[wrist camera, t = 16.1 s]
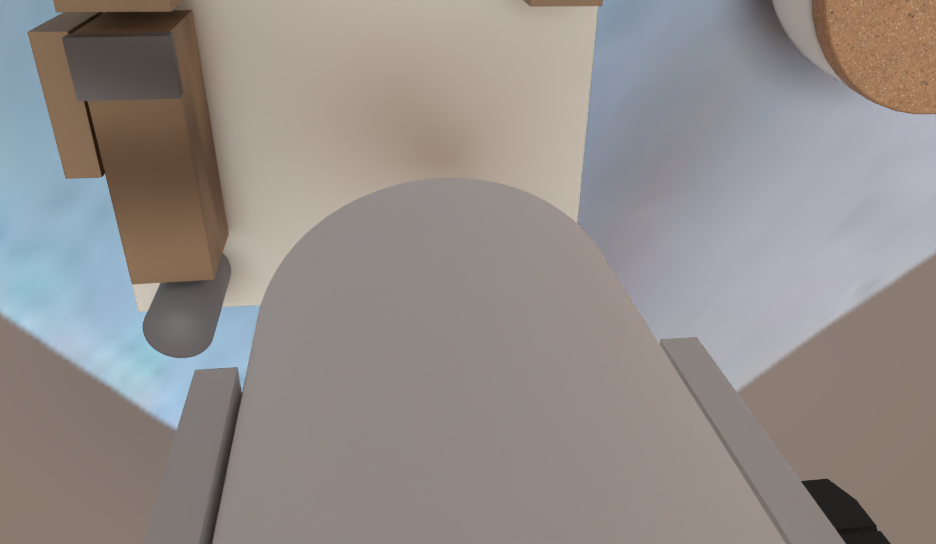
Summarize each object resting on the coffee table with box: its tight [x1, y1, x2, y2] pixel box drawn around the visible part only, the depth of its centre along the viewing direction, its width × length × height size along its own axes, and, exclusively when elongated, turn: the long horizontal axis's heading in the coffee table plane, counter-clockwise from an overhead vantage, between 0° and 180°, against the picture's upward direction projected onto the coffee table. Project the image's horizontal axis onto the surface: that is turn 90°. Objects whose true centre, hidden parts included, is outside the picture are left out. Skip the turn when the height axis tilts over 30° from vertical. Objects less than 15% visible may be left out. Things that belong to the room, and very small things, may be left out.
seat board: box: [28, 0, 603, 358], centre depth 29 cm, size 17×20×6 cm
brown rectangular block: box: [62, 10, 229, 284], centre depth 28 cm, size 9×3×5 cm, turn 0°
